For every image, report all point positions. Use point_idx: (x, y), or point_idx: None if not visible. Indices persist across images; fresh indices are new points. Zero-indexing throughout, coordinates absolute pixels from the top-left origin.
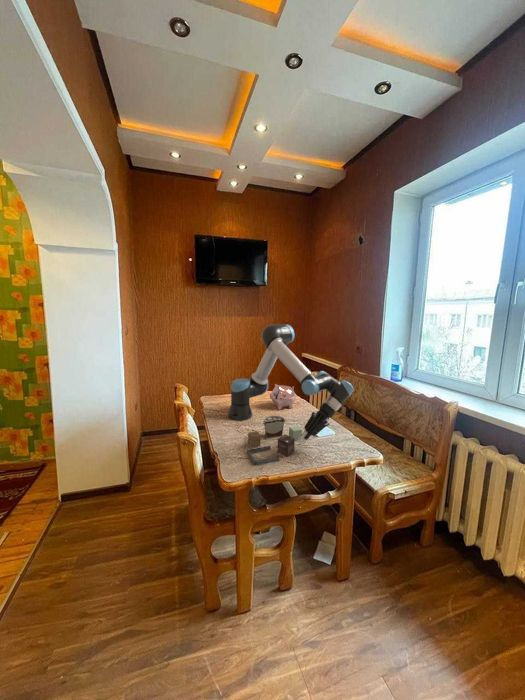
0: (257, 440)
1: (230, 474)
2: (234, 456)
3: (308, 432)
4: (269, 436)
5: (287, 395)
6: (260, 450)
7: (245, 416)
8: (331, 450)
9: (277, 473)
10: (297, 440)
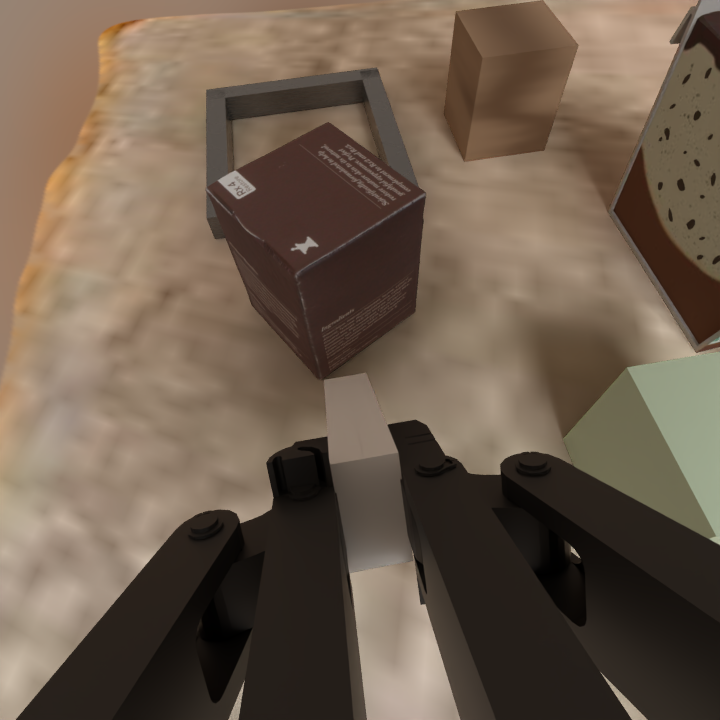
0: (465, 91)
1: (177, 34)
2: (345, 47)
3: (280, 475)
4: (631, 220)
5: None
6: (377, 143)
7: None
8: None
9: (69, 203)
10: (365, 374)
